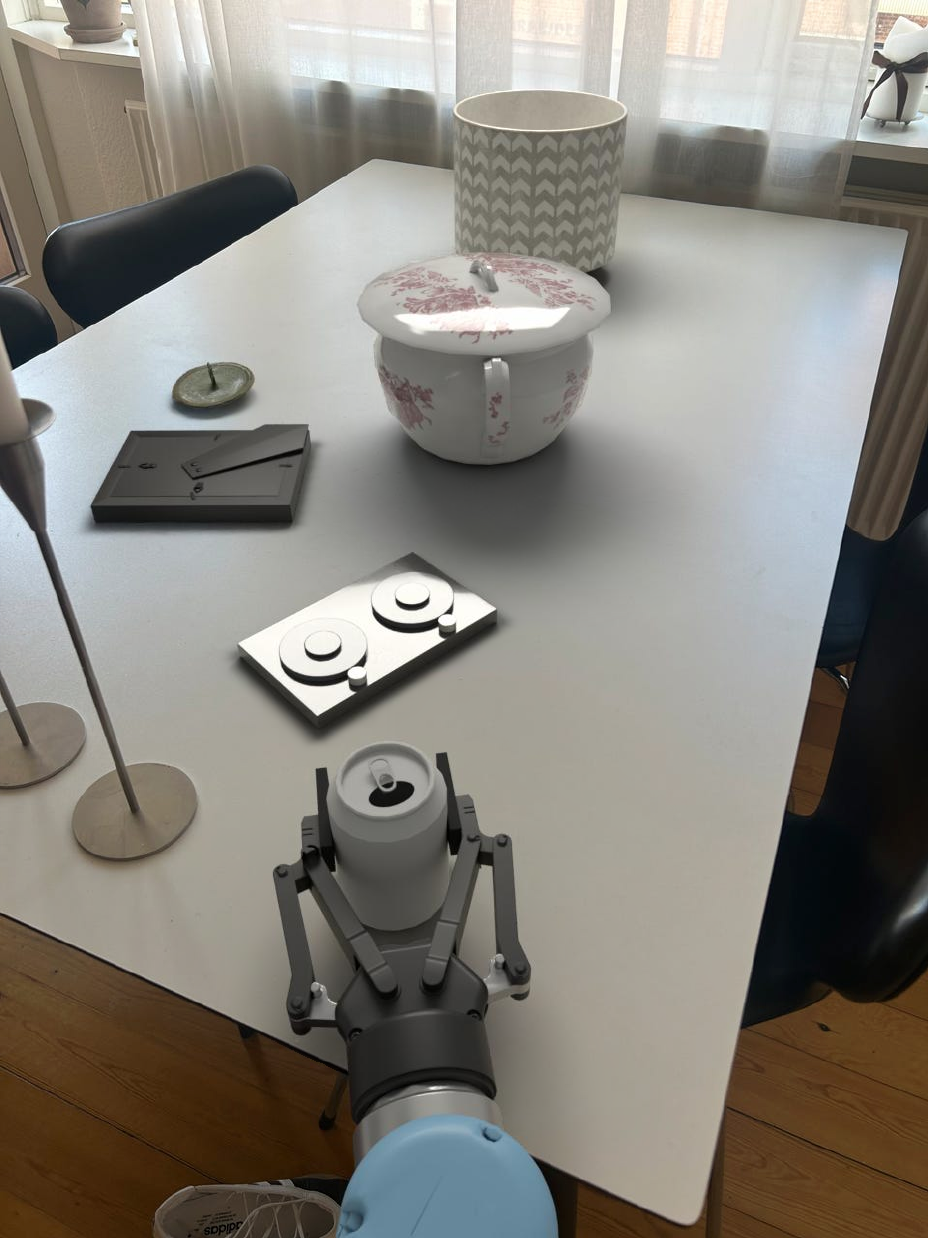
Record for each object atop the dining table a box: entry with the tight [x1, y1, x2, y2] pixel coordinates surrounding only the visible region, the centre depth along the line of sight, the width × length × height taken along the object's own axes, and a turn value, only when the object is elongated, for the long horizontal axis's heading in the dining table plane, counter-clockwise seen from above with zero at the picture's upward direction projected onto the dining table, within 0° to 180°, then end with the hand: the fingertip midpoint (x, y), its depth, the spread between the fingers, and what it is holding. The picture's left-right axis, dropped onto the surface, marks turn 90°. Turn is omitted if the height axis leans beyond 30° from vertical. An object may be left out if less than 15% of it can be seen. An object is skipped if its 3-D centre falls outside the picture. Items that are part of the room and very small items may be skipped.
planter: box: [452, 88, 629, 273], centre depth 146 cm, size 25×25×24 cm
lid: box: [171, 361, 255, 409], centre depth 122 cm, size 11×10×5 cm
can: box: [326, 740, 450, 932], centre depth 63 cm, size 8×8×12 cm
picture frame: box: [89, 423, 312, 523], centre depth 106 cm, size 16×3×21 cm
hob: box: [236, 551, 498, 730], centre depth 86 cm, size 12×20×2 cm, turn 132°
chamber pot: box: [356, 253, 612, 466], centre depth 108 cm, size 28×28×21 cm
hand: (382, 773), depth 66 cm, fingers closed on can, 7 cm apart
